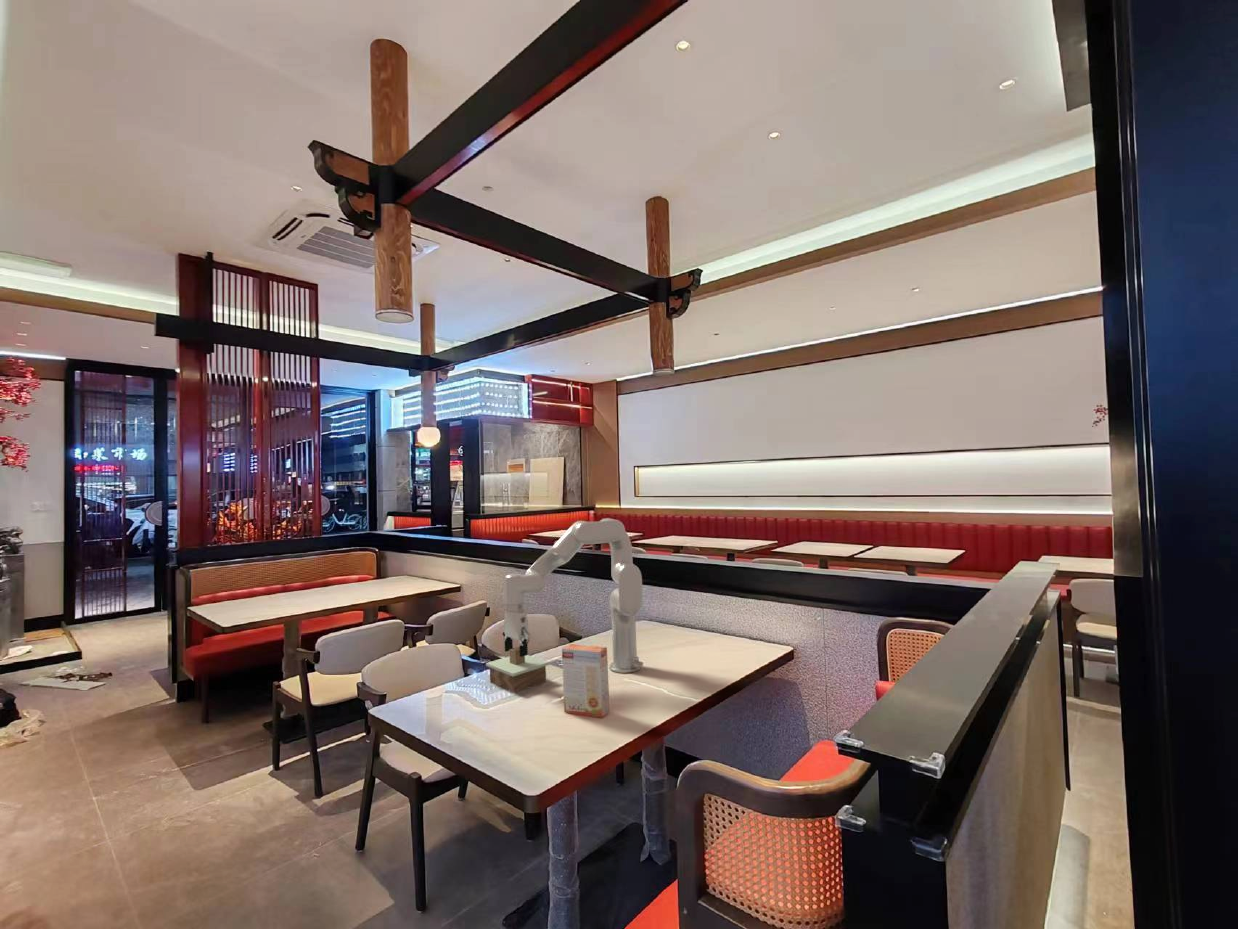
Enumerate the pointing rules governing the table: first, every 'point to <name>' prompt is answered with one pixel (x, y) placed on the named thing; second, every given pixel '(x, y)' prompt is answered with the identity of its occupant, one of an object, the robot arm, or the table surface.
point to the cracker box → (585, 680)
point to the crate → (518, 679)
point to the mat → (556, 663)
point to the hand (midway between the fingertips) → (516, 653)
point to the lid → (517, 663)
